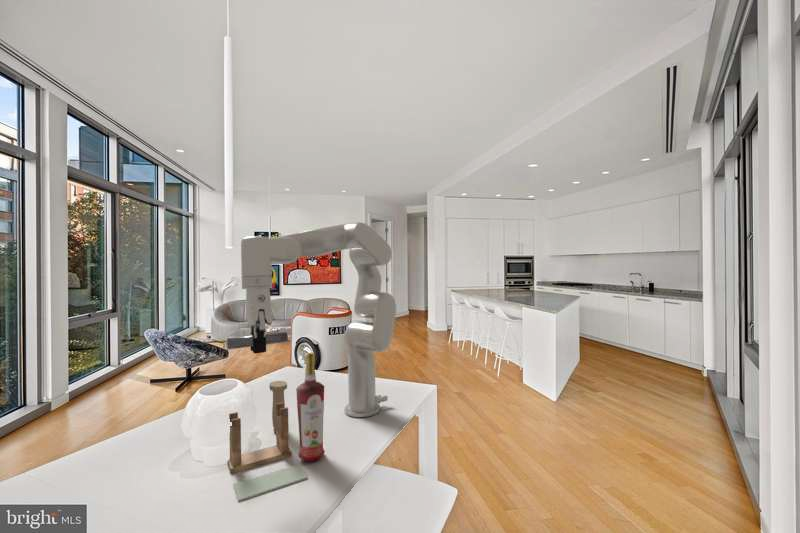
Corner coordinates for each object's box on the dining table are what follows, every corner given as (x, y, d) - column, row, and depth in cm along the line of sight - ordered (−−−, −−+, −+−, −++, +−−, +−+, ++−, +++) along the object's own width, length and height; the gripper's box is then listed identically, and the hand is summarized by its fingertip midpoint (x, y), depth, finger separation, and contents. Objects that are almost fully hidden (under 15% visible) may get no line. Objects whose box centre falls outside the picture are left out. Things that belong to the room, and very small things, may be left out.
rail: (285, 341, 102) (284, 331, 102) (287, 342, 100) (287, 332, 100) (226, 348, 94) (226, 337, 94) (228, 350, 92) (227, 339, 92)
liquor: (302, 468, 92) (300, 358, 92) (294, 456, 99) (292, 353, 99) (329, 459, 96) (327, 354, 96) (320, 448, 102) (318, 349, 103)
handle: (275, 437, 110) (275, 387, 110) (267, 430, 114) (266, 383, 114) (290, 432, 113) (290, 384, 113) (282, 426, 118) (281, 379, 118)
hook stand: (285, 446, 104) (284, 401, 104) (291, 455, 99) (290, 408, 99) (227, 463, 96) (226, 413, 96) (230, 473, 91) (229, 421, 91)
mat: (298, 465, 94) (298, 464, 94) (307, 478, 88) (307, 477, 88) (233, 485, 85) (233, 484, 85) (238, 501, 80) (238, 500, 80)
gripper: (279, 283, 92) (280, 355, 92) (264, 281, 106) (266, 344, 106) (247, 284, 88) (249, 359, 88) (237, 282, 102) (238, 347, 102)
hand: (258, 350), depth 97 cm, fingers closed on rail, 2 cm apart
